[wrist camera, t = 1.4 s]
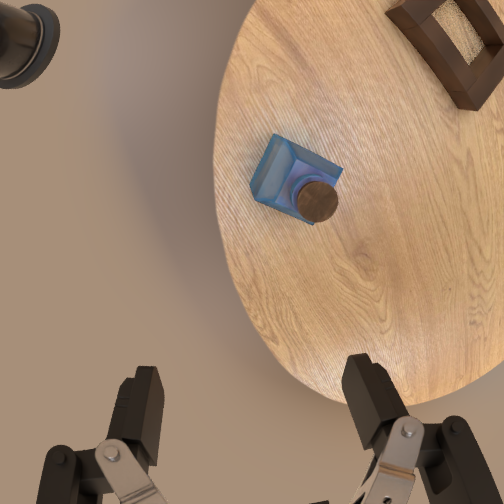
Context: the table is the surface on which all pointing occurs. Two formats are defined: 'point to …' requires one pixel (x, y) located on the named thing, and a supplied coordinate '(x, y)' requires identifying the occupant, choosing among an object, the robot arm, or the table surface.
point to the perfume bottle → (296, 181)
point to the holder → (447, 55)
